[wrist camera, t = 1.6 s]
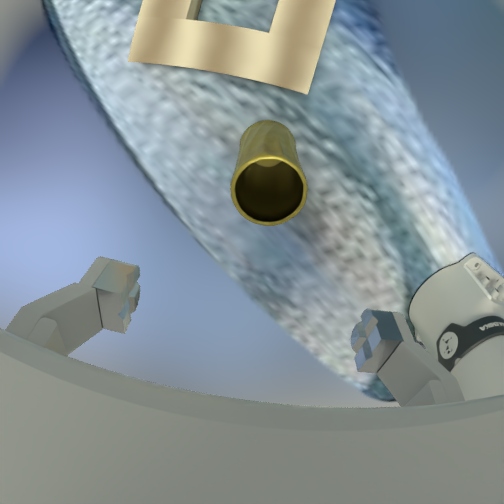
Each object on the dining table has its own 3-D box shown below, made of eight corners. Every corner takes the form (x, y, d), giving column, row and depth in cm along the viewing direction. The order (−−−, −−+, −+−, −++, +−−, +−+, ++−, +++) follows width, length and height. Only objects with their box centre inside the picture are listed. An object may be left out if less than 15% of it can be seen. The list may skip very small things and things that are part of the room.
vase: (306, 142, 32) (332, 185, 20) (272, 182, 35) (276, 247, 23) (262, 109, 30) (259, 129, 18) (229, 152, 33) (206, 200, 21)
